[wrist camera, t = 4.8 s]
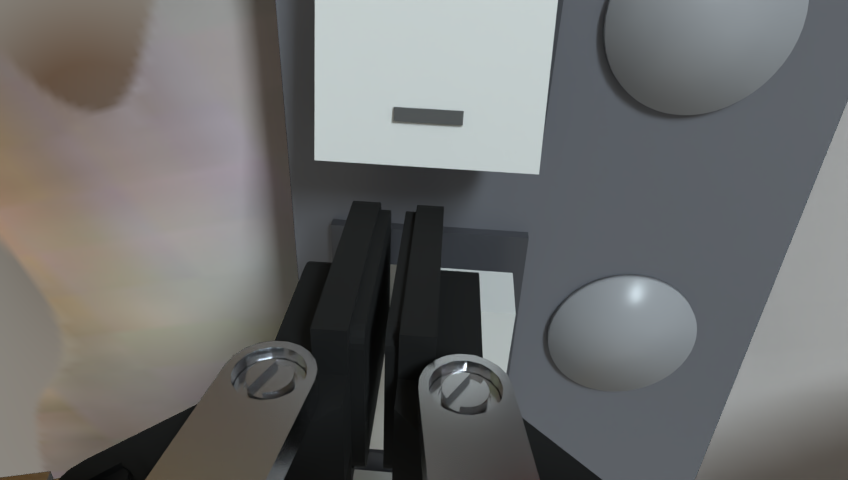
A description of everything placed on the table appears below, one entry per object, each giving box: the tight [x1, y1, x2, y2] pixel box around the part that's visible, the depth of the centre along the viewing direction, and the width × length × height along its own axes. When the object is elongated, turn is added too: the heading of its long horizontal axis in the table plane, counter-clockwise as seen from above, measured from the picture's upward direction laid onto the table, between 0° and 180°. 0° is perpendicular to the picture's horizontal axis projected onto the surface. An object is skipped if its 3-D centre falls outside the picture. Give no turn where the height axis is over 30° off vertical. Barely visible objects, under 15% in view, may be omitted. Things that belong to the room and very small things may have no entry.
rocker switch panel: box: [275, 0, 848, 480], centre depth 19 cm, size 30×12×4 cm, turn 178°
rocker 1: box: [314, 0, 558, 174], centre depth 11 cm, size 5×4×2 cm
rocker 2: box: [369, 264, 516, 450], centre depth 15 cm, size 5×4×2 cm
